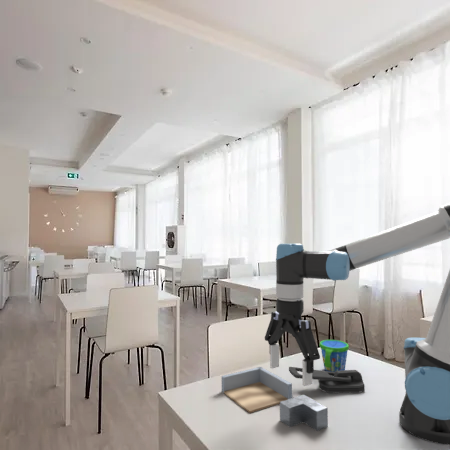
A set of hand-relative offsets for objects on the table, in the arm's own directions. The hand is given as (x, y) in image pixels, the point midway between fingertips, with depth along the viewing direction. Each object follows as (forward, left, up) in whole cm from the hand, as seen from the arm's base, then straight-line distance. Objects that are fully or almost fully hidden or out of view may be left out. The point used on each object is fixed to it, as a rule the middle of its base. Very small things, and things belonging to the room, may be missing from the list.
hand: (290, 375), depth 94 cm
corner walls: (+18, -1, -12) cm, 21 cm away
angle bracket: (-3, -2, -12) cm, 13 cm away
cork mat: (+17, 0, -12) cm, 21 cm away
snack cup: (+19, -39, -13) cm, 45 cm away
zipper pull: (+10, -24, -13) cm, 29 cm away
